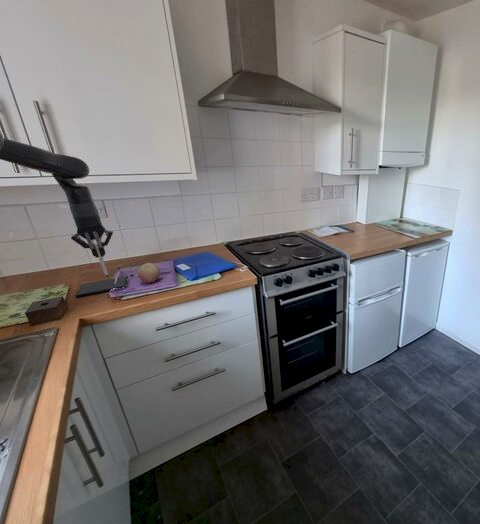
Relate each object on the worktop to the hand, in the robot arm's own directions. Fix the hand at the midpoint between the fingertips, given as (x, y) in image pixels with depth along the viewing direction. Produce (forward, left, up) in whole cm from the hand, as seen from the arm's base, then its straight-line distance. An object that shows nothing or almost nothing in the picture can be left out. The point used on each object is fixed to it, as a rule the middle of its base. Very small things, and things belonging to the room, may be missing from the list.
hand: (100, 256), depth 120 cm
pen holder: (-15, -17, -14) cm, 27 cm away
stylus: (0, 0, -9) cm, 9 cm away
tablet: (-2, 0, -14) cm, 14 cm away
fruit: (+15, -3, -14) cm, 20 cm away
